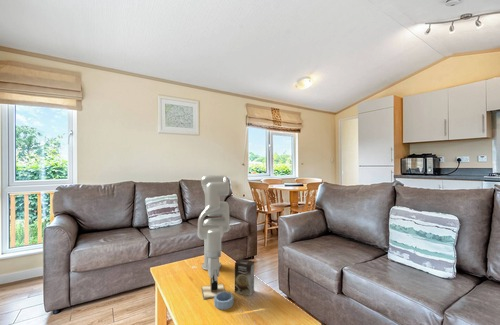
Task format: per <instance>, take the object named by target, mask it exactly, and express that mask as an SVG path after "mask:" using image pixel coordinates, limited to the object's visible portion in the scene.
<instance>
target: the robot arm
mask: <svg viewBox="0 0 500 325" xmlns="http://www.w3.org/2000/svg"><path fill="white" fill-rule="evenodd" d="M200 183H201V184H200V185H201V188H202V190H203V193H204V209H203V211H201V213H200V214H199V217H198V220H197V237H198V239H199V240H201V241H204V242H203V244H204V246H203V248H204V250H203V251H204V252H203V254H204V256H203V257H204V258H203V263H202V264H201V269H203V270H205V271H207V273H208V277H209V278H210V279H209V280H210V281H209V282H210V283H209V285H210V286H211V290H217V289H218V284H219V283H218V281H219V280H218V278H219V277H220V268H222V263H221V262H220V257H221V256H222V238H223V236H224V233H228V232H229V231H230V226H231V225H230V206H229V203H228V201H222V200H221V197H223V196H225V197H226V196H228V195H229V194H230V183H229V179H228V177H227V175H204V176H202V177H201V178H200ZM205 217H210V218H207V219H205ZM211 217H212V218H211ZM211 278H212V282H211ZM213 278H214V279H213Z"/></svg>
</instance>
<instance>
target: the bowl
mask: <svg viewBox="0 0 500 325" xmlns="http://www.w3.org/2000/svg"><path fill="white" fill-rule="evenodd" d="M225 291H226V290H225ZM225 291H224V292H219V293H217V294H216V295H215V296H214V298H213V304H214V307H215V309H217V310H222V311H223V310H225V311H226V310H228V309H230V308H232V307H233V305H234V295H233V293H232V292H230V291H226V292H225Z"/></svg>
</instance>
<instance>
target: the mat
mask: <svg viewBox="0 0 500 325" xmlns="http://www.w3.org/2000/svg"><path fill="white" fill-rule="evenodd" d="M223 286H224V289H225V292H227V290H226V288H225V285H224V284H223ZM201 292H202V298H203V301H205V300H210V299H212V300H214V298H209V299H204V294H203V289H202V288H201Z"/></svg>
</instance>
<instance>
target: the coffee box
mask: <svg viewBox="0 0 500 325" xmlns="http://www.w3.org/2000/svg"><path fill="white" fill-rule="evenodd" d="M254 291H255V261H254V260H248V259H241V258H239V259H238V260H236V261H235V263H234V293H236V294H241V295H245V296H252V295H253V292H254Z"/></svg>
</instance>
